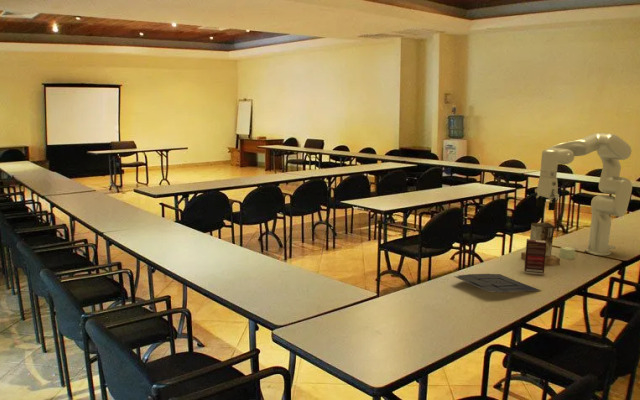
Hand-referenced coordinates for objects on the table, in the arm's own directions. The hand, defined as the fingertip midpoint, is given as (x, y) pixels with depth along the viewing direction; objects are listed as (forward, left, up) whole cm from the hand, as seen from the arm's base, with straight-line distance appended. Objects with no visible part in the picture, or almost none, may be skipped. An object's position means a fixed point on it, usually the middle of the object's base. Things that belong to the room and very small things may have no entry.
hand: (545, 208), depth 256 cm
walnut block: (0, 0, -29) cm, 29 cm away
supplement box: (+14, +15, -28) cm, 35 cm away
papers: (+43, +30, -28) cm, 60 cm away
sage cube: (-19, -4, -28) cm, 34 cm away
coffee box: (0, -1, -25) cm, 25 cm away
